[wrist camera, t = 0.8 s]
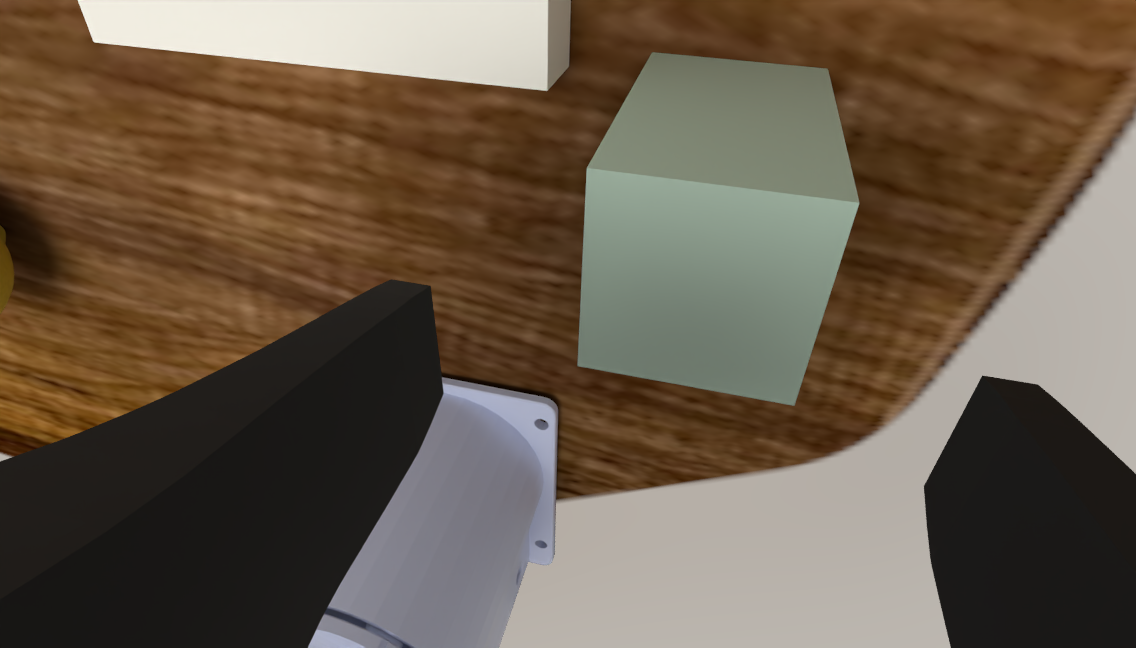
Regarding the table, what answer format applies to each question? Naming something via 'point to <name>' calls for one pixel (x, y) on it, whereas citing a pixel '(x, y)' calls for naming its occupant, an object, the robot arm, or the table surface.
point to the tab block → (715, 226)
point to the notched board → (357, 34)
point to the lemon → (5, 271)
